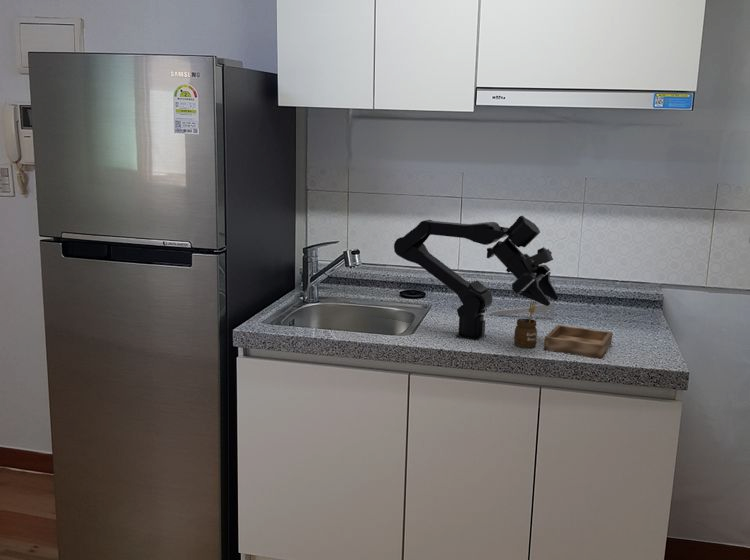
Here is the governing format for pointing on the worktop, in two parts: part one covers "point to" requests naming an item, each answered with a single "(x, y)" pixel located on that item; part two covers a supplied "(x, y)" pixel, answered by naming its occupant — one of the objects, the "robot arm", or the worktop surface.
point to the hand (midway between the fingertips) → (553, 302)
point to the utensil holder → (526, 330)
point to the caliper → (537, 310)
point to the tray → (578, 341)
